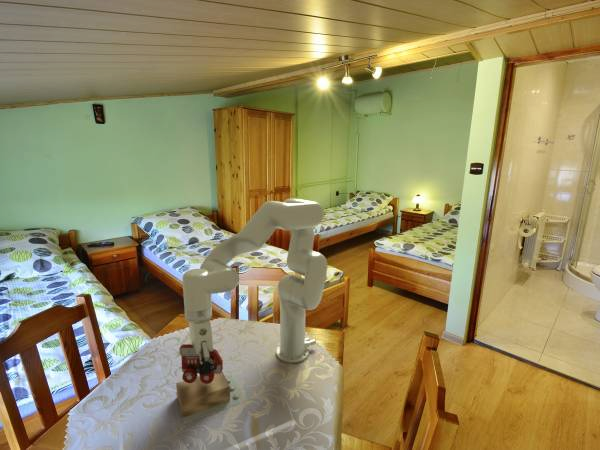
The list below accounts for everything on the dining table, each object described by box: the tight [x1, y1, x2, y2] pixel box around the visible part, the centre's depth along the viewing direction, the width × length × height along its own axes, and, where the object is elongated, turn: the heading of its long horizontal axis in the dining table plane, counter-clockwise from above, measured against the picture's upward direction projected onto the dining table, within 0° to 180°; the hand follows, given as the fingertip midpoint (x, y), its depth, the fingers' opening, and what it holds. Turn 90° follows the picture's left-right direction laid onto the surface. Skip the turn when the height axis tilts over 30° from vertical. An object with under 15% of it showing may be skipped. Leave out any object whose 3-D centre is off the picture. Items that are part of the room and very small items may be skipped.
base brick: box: [175, 371, 230, 419], centre depth 99 cm, size 14×9×5 cm, turn 120°
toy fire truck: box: [179, 343, 224, 384], centre depth 96 cm, size 7×12×10 cm, turn 90°
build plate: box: [175, 374, 246, 425], centre depth 100 cm, size 18×14×2 cm
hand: (201, 364), depth 97 cm, fingers closed on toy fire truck, 8 cm apart
